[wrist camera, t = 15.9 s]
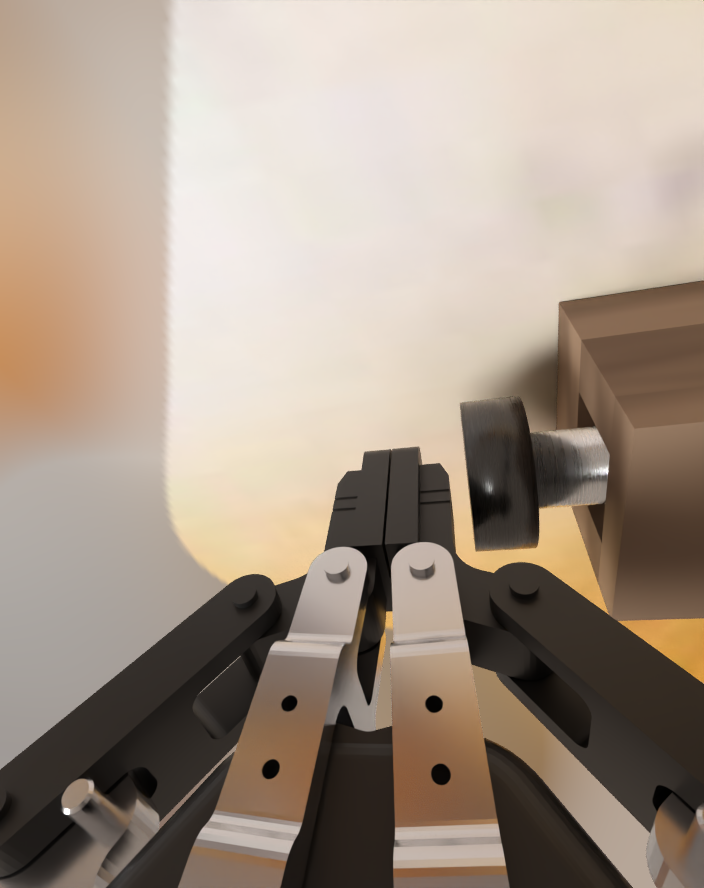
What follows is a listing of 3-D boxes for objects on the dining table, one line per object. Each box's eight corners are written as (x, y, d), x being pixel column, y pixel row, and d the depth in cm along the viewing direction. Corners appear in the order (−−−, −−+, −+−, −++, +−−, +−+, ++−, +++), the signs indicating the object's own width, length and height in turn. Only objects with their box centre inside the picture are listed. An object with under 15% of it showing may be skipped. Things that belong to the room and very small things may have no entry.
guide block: (559, 302, 15) (634, 429, 10) (753, 273, 14) (957, 396, 9) (555, 460, 18) (611, 621, 13) (714, 446, 17) (845, 613, 12)
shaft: (457, 376, 15) (467, 463, 11) (853, 326, 13) (1001, 413, 9) (468, 485, 17) (478, 583, 14) (806, 456, 15) (913, 563, 12)
